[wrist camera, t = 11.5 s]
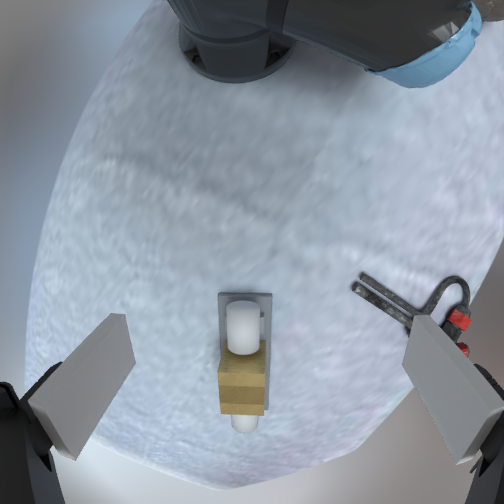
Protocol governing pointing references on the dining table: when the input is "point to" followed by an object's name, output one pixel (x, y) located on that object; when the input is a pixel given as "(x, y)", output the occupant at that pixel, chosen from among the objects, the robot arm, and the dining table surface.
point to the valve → (456, 317)
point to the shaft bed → (267, 330)
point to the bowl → (490, 9)
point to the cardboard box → (242, 382)
